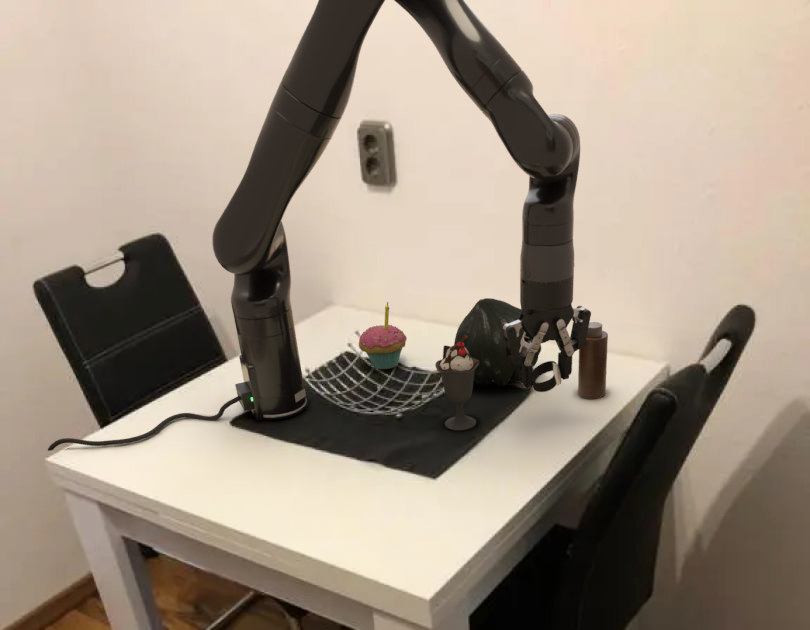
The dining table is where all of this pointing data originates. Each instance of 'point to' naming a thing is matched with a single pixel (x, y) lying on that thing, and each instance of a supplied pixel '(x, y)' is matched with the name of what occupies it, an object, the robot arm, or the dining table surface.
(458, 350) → the sundae
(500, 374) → the squash
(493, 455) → the dining table surface
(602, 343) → the pepper mill
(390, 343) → the cupcake
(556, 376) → the watch
